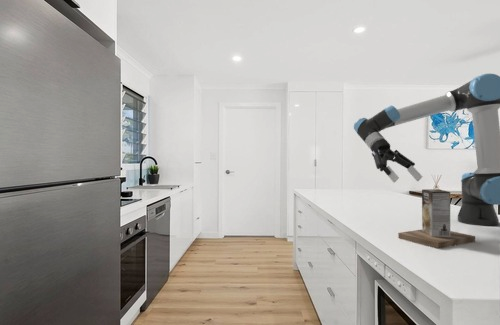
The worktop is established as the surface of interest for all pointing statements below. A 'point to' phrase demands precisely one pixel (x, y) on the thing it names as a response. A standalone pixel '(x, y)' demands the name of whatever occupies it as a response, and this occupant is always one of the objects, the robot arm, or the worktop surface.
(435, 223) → the coffee box
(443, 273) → the worktop surface
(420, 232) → the walnut board
